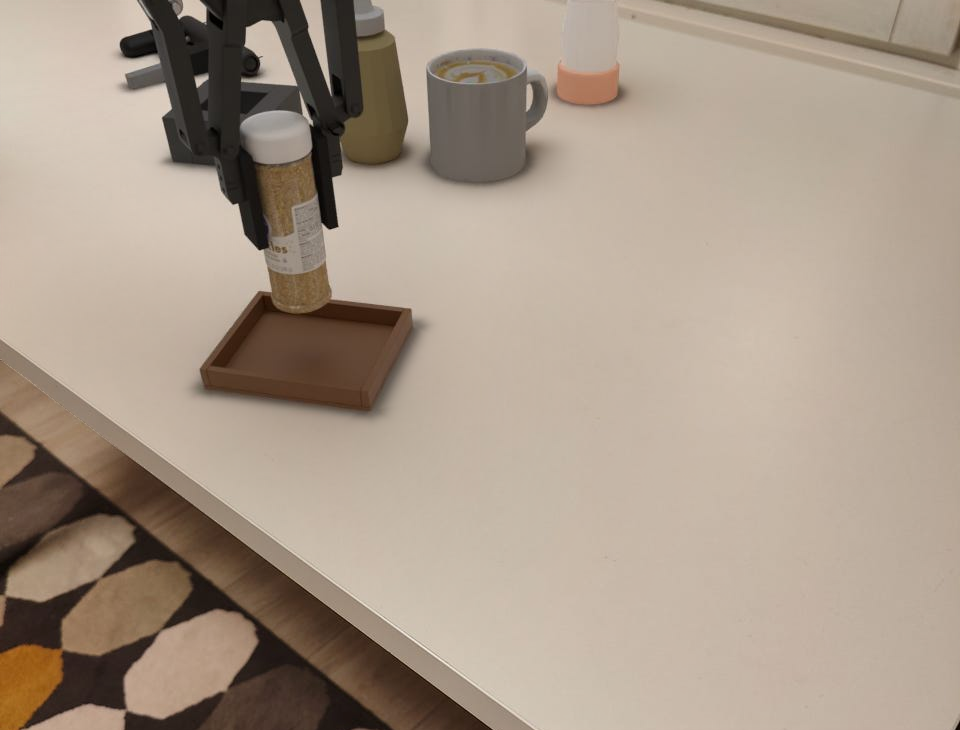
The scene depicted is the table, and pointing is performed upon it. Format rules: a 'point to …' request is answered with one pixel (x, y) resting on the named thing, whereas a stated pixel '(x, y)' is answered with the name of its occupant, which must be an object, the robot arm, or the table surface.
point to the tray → (310, 352)
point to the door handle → (198, 52)
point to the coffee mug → (481, 113)
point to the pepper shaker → (589, 52)
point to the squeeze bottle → (376, 92)
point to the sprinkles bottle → (289, 209)
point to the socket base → (252, 103)
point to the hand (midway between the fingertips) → (291, 230)
